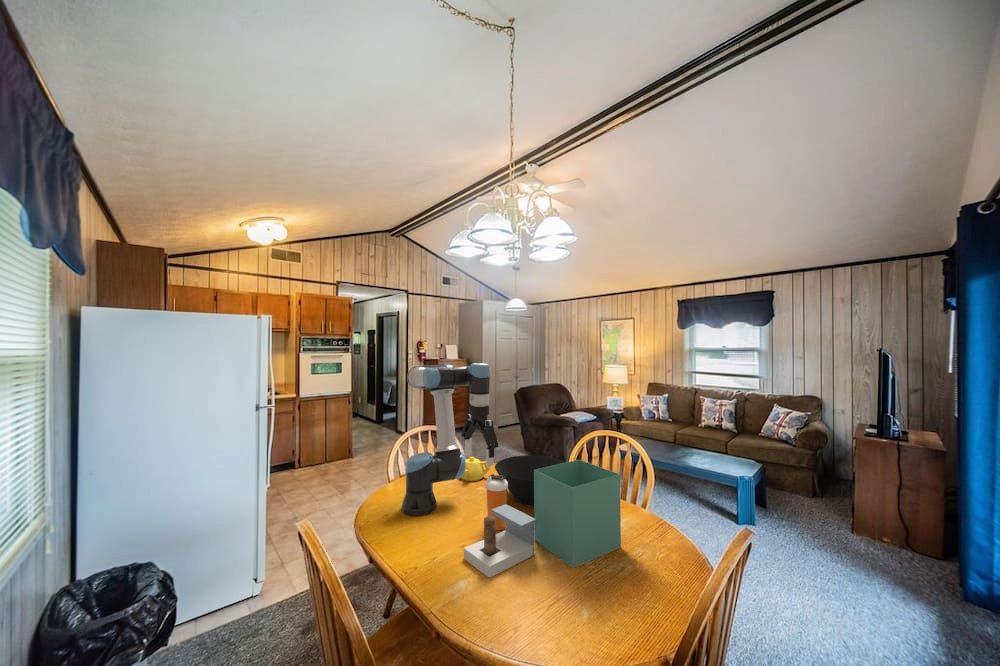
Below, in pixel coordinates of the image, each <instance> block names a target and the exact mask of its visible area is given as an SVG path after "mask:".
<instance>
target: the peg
mask: <svg viewBox="0 0 1000 666" xmlns="http://www.w3.org/2000/svg"><path fill="white" fill-rule="evenodd" d="M496 534H497V530H496V518H495V517H493V516H488V515H487V516H485V517H484V518H483V540H484V554H486V555H487V556H489V557H490V556H492V555H494V554H496Z"/></svg>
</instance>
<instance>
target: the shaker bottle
mask: <svg viewBox="0 0 1000 666" xmlns="http://www.w3.org/2000/svg"><path fill="white" fill-rule="evenodd" d="M505 478H506V476H504V475H499V474H494V473H491V474H490V475H489V476H487V479H486V482H485V489H486V503H487V504H486V506H487V507H486V508H487V517H488V516H493V517H495V518H496V531H502V530H504V529H506V521H504V520H502V519H500V518H499V517H497V516H495V515H493V514H492V509H494V508H497V507H500V506H502V505H505V504H507V505H508V482H507V481H506V479H505Z"/></svg>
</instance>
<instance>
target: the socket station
mask: <svg viewBox="0 0 1000 666" xmlns="http://www.w3.org/2000/svg"><path fill="white" fill-rule="evenodd" d="M492 514H493V515H495V516H497V517H499V518H500V519H502V520H504V521H506V527H505V530H503V531H500V532H498V533H496V554H494V555H492V556H490V557H489V556H487V555H486V554H484V539H482V540H480V541H479V540H478V541H477V542H475V543H473V544H471V545H470V544H469V545H467V546H465V547H463V559H464V560H465V561H466V562H468V563H470V565H472V566H473V567H475V569H477V570H478V571H480V572H481V573H483V575H485V576H486V577H488V579H490V578H492V577H494V576H495V575H498V574H500V573H502V572H504V571H505V570H507V569H509V568H512V567H513V566H515V565H517V564H520V563H522V561H526V559H528V558H531V557H533V556H534V555H535V540H534V524H536V519H535V518H534V516H530V515H528V514H527V513H525V512H523V511H520V510H518V509H517V508H515V507H512V506H510V505H508V503H507V504H505V505H502V506H500V507H497V508H494V509H492Z"/></svg>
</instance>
